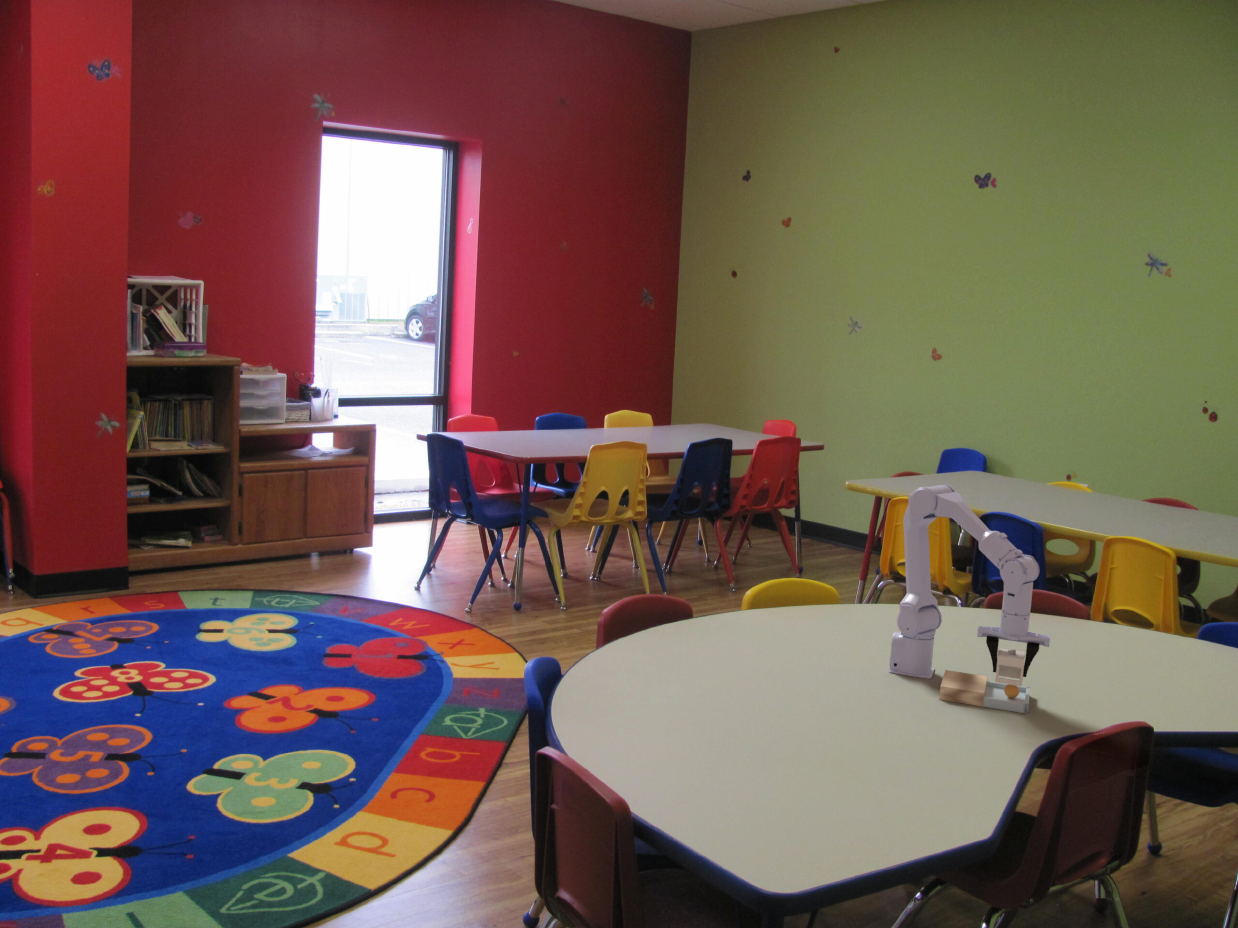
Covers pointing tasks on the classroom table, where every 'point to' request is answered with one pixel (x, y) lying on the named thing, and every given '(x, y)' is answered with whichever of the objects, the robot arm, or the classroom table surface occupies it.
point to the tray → (1006, 698)
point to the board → (963, 688)
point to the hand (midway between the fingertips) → (1009, 673)
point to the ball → (1011, 691)
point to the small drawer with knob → (1010, 666)
